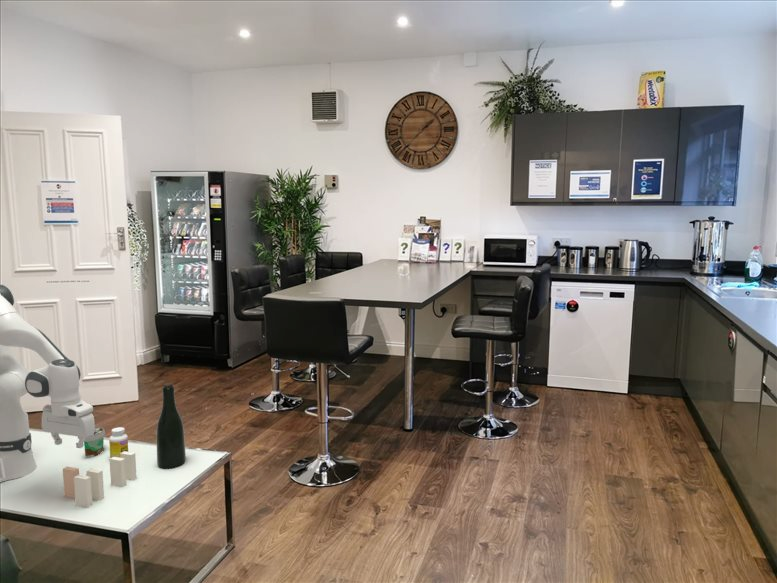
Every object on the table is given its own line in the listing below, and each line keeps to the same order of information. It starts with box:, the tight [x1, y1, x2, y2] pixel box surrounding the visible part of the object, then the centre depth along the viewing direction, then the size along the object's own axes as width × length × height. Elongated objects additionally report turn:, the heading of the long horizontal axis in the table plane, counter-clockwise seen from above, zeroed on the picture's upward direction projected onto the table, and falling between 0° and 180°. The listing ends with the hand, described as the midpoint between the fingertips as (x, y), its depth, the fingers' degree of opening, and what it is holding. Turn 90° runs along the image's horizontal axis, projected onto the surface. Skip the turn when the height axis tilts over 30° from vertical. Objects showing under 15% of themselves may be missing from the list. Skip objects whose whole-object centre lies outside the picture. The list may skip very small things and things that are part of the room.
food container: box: [83, 425, 106, 459], centre depth 236 cm, size 12×6×10 cm, turn 9°
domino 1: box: [62, 466, 80, 499], centre depth 201 cm, size 2×5×10 cm, turn 72°
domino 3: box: [86, 467, 105, 501], centre depth 200 cm, size 2×5×10 cm, turn 72°
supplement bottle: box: [108, 426, 129, 459], centre depth 231 cm, size 7×7×13 cm
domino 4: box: [109, 457, 127, 488], centre depth 210 cm, size 2×5×10 cm, turn 72°
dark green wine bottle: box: [155, 382, 187, 470], centre depth 225 cm, size 10×10×33 cm
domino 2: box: [74, 474, 93, 508], centre depth 195 cm, size 2×5×10 cm, turn 72°
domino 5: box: [120, 451, 137, 481], centre depth 215 cm, size 2×5×10 cm, turn 72°
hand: (69, 445), depth 199 cm, fingers open, 8 cm apart
